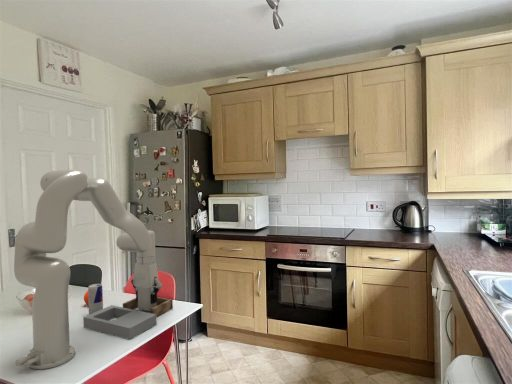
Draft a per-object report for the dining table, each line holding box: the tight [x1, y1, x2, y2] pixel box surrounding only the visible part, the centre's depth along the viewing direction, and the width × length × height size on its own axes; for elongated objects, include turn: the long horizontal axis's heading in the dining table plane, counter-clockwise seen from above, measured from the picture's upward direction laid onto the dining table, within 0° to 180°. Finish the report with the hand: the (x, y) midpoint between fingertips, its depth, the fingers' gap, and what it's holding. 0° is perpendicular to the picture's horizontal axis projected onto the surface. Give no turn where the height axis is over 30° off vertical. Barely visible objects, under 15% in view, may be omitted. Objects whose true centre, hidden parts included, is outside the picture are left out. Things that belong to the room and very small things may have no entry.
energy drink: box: [87, 283, 104, 315], centre depth 137 cm, size 5×5×12 cm
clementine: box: [83, 290, 89, 306], centre depth 148 cm, size 8×7×7 cm
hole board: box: [82, 305, 158, 340], centre depth 125 cm, size 13×24×4 cm, turn 65°
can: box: [137, 285, 157, 312], centre depth 139 cm, size 8×8×12 cm
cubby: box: [122, 296, 174, 318], centre depth 140 cm, size 12×16×4 cm
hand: (146, 301), depth 139 cm, fingers closed on can, 7 cm apart
